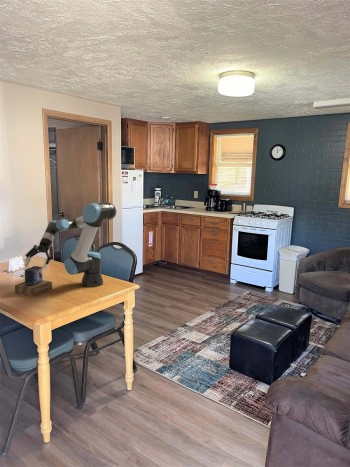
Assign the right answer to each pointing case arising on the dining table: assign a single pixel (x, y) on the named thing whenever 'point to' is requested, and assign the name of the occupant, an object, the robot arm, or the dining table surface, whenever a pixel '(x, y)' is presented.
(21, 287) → the walnut block
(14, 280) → the dining table surface
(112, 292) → the dining table surface
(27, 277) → the small box
